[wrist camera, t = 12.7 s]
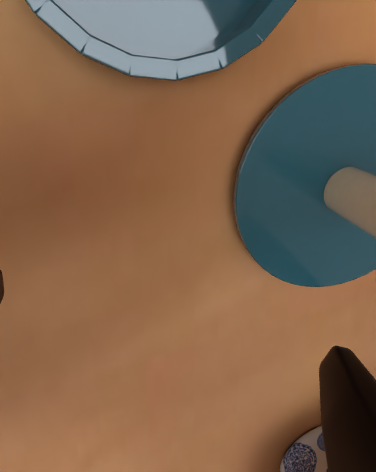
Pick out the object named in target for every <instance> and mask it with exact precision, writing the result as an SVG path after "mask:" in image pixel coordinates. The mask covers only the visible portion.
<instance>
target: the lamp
mask: <svg viewBox="0 0 376 472" xmlns="http://www.w3.org/2000/svg"><path fill="white" fill-rule="evenodd" d="M280 472H328V467H327V460H326V454H325V447H324V440H323V433H322V425H321V426H319V427H317V428H315V429H313V430H311V431H309V432H308V433H306V434H305V435H303V436H302V437H300V438H299V439H298V440H297V441H296V442H294V443H293V445H292V446H291V447H290V448H289V449H288V451H287V452H286V454H285V455H284V457H283V459H282V462H281V466H280Z"/></svg>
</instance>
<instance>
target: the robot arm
mask: <svg viewBox="0 0 376 472" xmlns="http://www.w3.org/2000/svg"><path fill="white" fill-rule="evenodd" d="M3 296H4V284H3V276H2V271H1V270H0V303H1V301H2V299H3ZM319 381H320V405H321V424H322V433H323V440H324V447H325V454H326V460H327V467H328V472H376V380H375V378H374V377H373V376H372V375H371V374H370V372H369V371H368V370H367V369H366V368H365V366H364V365H363V364H362V363H361V362H360V360H359V359H358V358H357V357H356V355H355V354H354V353H353V352H352V351H351V350H350V349H348V348H344V347H340V346H334V347H332V348H331V349H330V351H329V352H328V354H327V355H326V357H325V358H324V359H323V361H322V362H321V364H320V368H319Z"/></svg>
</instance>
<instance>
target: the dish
mask: <svg viewBox="0 0 376 472" xmlns="http://www.w3.org/2000/svg"><path fill="white" fill-rule="evenodd" d="M25 1H26V2H27V4H28V5H29V7H30V8H31V10H32V11H33V12H34V13H35V14H36V16H37V17H38V18H39V19H41V20H42V21H43V22H44V23H45V24H46V25H47V26H49V27H50V28H51V29H52V30H53V31H54V32H56V33H57V34H58V35H59V36H60V37H61V38H62V39H64V40H65V41H66V42H67V43H68V44H69V45H71V46H72V47H73V48H74V49H75V50H76V51H77V52H79V53H80V54H82V55H83V56H85V57H87V58H89V59H91V60H94V61H96V62H98V63H100V64H102V65H105V66H107V67H109V68H111V69H114V70H116V71H118V72H120V73H122V74H125V75H128V76H131V77H141V78H151V79H162V80H172V81H177V80H183V79H187V78H191V77H195V76H199V75H203V74H207V73H211V72H214V71H218V70H221V69H224V68H225V67H227V66H228V65H230V64H231V63H233V62H234V61H236V60H237V59H239V58H240V57H242V56H243V55H245V54H246V53H248V52H249V51H251V50H252V49H254V48H255V47H257V46H258V45H260V44H261V43H262V42H263V41H264V40H265V39H266V38H267V36H268V35H269V34H270V33H271V32H272V30H273V29H274V28H275V27H276V25H277V24H278V23H279V22H280V21H281V19H282V18H283V17H284V16H285V15H286V13H287V12H288V11H289V10H290V8H291V7H292V6H293V5H294V3H295V2H296V0H25Z"/></svg>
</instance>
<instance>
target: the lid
mask: <svg viewBox="0 0 376 472" xmlns="http://www.w3.org/2000/svg"><path fill="white" fill-rule="evenodd" d="M234 214H235V220H236V225H237V228H238V231H239V234H240V237H241V239H242V241H243V243H244V245H245V247H246V249H247V250H248V252H249V253H250V254H251V256H252V257H253V258H254V260H255V261H256V262H257V263H258V264H259V265H260V266H261V267H262V268H263V269H264V270H266V271H267V272H269V273H270V274H271V275H273V276H275V277H277V278H279V279H281V280H283V281H285V282H288V283H292V284H295V285H300V286H307V287H323V286H332V285H337V284H342V283H345V282H348V281H351V280H354V279H357V278H359V277H361V276H363V275H366V274H368V273H369V272H371V271H373V270H375V269H376V64H356V65H347V66H342V67H338V68H335V69H331V70H328V71H325V72H323V73H321V74H318V75H316V76H314V77H312V78H310V79H309V80H307V81H305V82H303V83H302V84H300V85H298V86H297V87H296V88H294V89H293V90H292V91H290V92H289V93H288V94H287V95H285V96H284V97H283V98H282V99H281V100H280V101H279V102H278V103H277V104H276V105H275V106H274V107H273V108H272V109H271V110H270V111H269V113H268V114H267V115H266V116H265V117H264V119H263V120H262V121H261V122H260V124H259V126H258V127H257V129H256V130H255V132H254V133H253V135H252V136H251V138H250V140H249V142H248V144H247V147H246V149H245V151H244V153H243V156H242V159H241V161H240V164H239V167H238V171H237V176H236V180H235V188H234Z"/></svg>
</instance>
